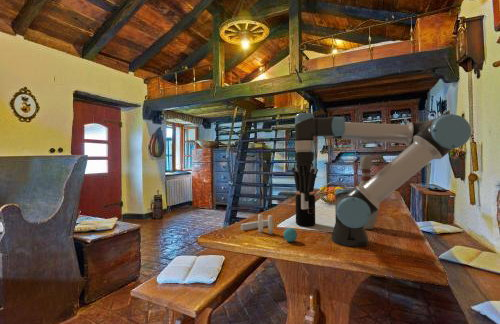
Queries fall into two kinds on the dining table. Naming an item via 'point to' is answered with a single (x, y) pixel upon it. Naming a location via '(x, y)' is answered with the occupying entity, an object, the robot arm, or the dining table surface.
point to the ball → (290, 234)
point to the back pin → (260, 223)
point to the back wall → (253, 225)
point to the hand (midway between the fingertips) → (304, 208)
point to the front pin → (270, 224)
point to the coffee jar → (305, 211)
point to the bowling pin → (366, 170)
